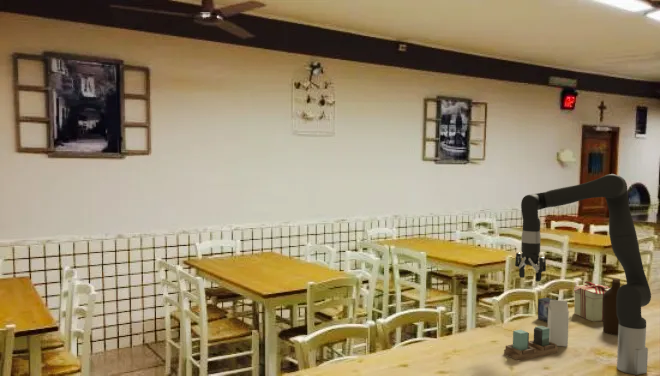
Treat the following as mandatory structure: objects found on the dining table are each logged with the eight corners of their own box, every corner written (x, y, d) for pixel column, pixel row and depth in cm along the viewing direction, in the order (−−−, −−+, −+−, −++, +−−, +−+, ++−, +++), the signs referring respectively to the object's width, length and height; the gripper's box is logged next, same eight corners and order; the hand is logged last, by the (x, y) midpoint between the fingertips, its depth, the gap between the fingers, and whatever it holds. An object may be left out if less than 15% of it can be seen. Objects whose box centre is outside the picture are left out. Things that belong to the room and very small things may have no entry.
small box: (536, 319, 280) (537, 298, 280) (546, 317, 283) (546, 297, 283) (553, 324, 271) (553, 303, 270) (563, 323, 274) (563, 302, 273)
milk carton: (567, 347, 238) (569, 303, 237) (550, 345, 240) (551, 302, 239) (564, 341, 245) (565, 299, 244) (547, 340, 247) (548, 298, 246)
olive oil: (621, 337, 252) (623, 282, 251) (597, 331, 261) (599, 278, 259) (631, 332, 259) (633, 279, 258) (608, 327, 267) (609, 275, 266)
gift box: (567, 314, 290) (568, 281, 289) (595, 311, 295) (597, 279, 294) (591, 323, 274) (592, 288, 273) (621, 320, 279) (622, 286, 278)
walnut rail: (557, 352, 231) (558, 328, 231) (518, 360, 221) (519, 335, 221) (542, 346, 238) (543, 323, 238) (504, 354, 228) (504, 330, 228)
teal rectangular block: (528, 351, 226) (529, 332, 226) (520, 353, 224) (520, 333, 224) (521, 348, 230) (521, 329, 229) (512, 350, 228) (513, 330, 227)
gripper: (550, 243, 232) (549, 281, 233) (524, 238, 244) (523, 275, 245) (538, 244, 228) (537, 283, 229) (511, 239, 241) (510, 277, 241)
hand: (529, 279), depth 237 cm, fingers open, 8 cm apart
